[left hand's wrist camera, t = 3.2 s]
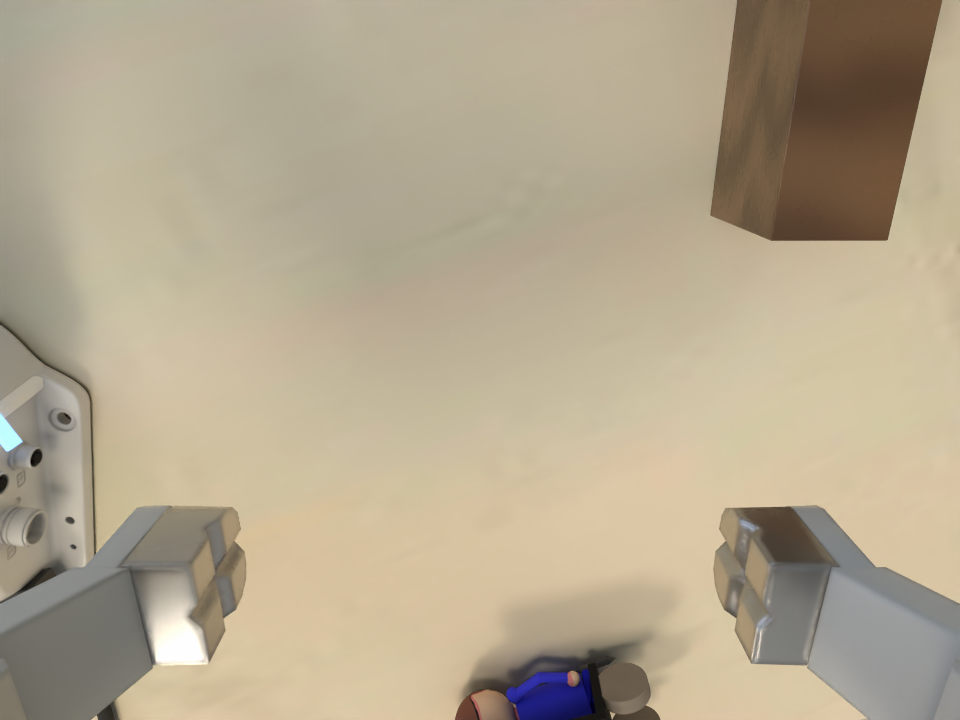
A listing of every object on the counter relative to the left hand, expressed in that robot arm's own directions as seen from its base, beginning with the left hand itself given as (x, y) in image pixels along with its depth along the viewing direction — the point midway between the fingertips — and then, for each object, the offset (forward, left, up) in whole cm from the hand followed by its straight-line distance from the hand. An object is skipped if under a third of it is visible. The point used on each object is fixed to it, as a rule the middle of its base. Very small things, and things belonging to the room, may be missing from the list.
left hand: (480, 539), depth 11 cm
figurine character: (-35, -5, -29) cm, 46 cm away
